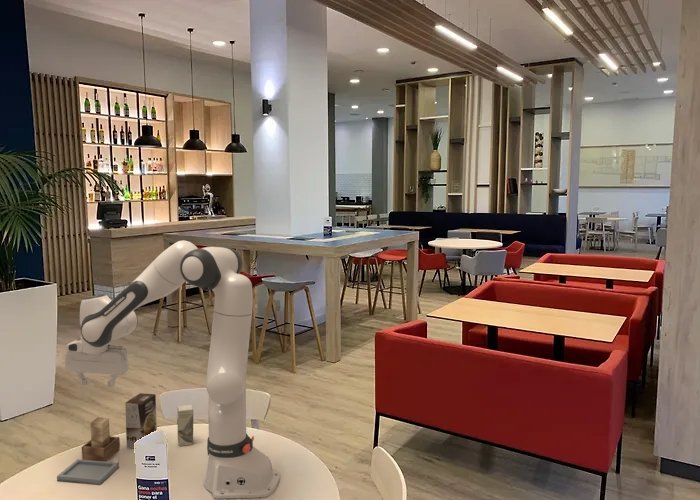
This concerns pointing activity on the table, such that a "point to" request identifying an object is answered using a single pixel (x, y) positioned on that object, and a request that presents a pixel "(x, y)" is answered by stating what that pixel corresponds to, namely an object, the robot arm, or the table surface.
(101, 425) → the pin
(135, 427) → the coffee box
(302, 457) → the table surface
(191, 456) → the table surface
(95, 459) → the holder
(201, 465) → the table surface
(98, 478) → the tray
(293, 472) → the table surface
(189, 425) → the box
